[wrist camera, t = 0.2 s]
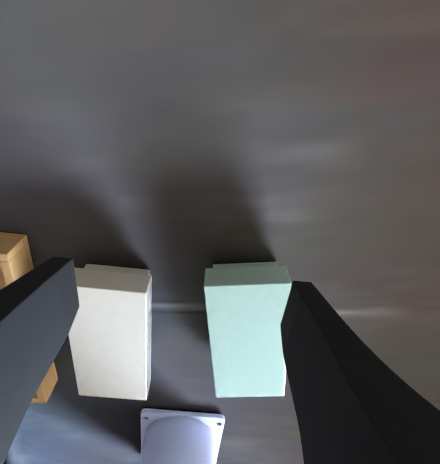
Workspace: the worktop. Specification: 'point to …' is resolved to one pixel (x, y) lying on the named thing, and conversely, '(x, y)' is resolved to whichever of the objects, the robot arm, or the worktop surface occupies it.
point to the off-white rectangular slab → (112, 332)
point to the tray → (10, 269)
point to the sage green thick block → (247, 327)
